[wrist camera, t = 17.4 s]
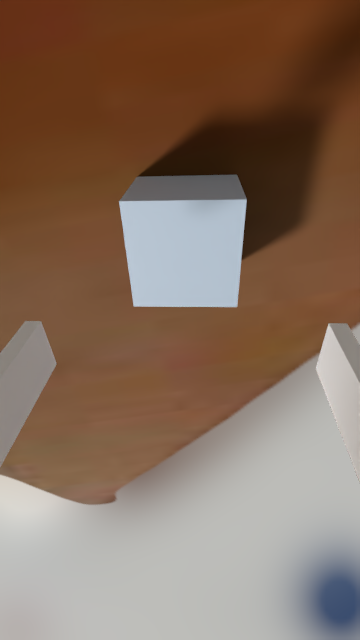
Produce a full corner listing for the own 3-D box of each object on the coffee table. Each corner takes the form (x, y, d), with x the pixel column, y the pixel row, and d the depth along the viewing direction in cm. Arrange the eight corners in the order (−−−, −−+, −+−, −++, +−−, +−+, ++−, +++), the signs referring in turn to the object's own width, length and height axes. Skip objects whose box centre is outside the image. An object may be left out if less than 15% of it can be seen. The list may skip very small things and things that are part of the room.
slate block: (146, 265, 31) (133, 306, 25) (137, 176, 26) (119, 201, 20) (230, 265, 30) (237, 307, 24) (236, 174, 25) (246, 199, 20)
